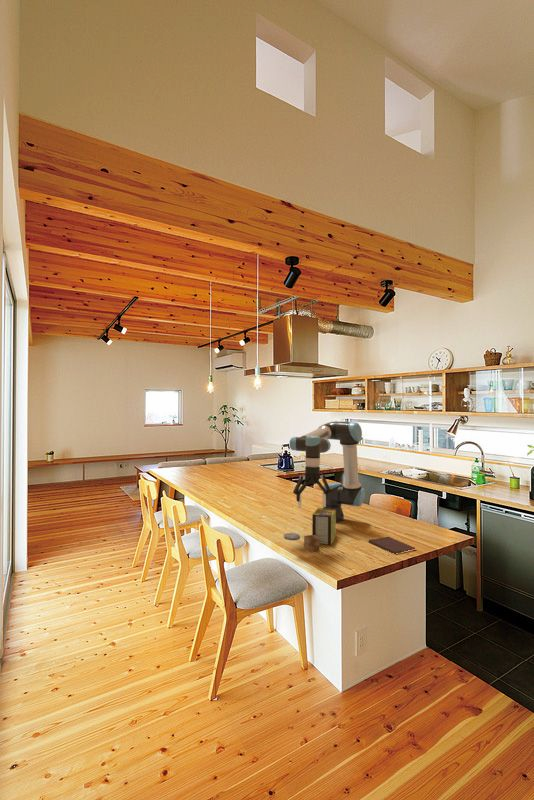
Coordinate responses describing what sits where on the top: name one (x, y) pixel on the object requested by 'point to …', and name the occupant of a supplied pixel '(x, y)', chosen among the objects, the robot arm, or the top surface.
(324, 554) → the top surface
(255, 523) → the top surface
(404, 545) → the notebook
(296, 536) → the slate coaster
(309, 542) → the walnut block
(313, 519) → the protein box
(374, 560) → the top surface
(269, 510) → the top surface
